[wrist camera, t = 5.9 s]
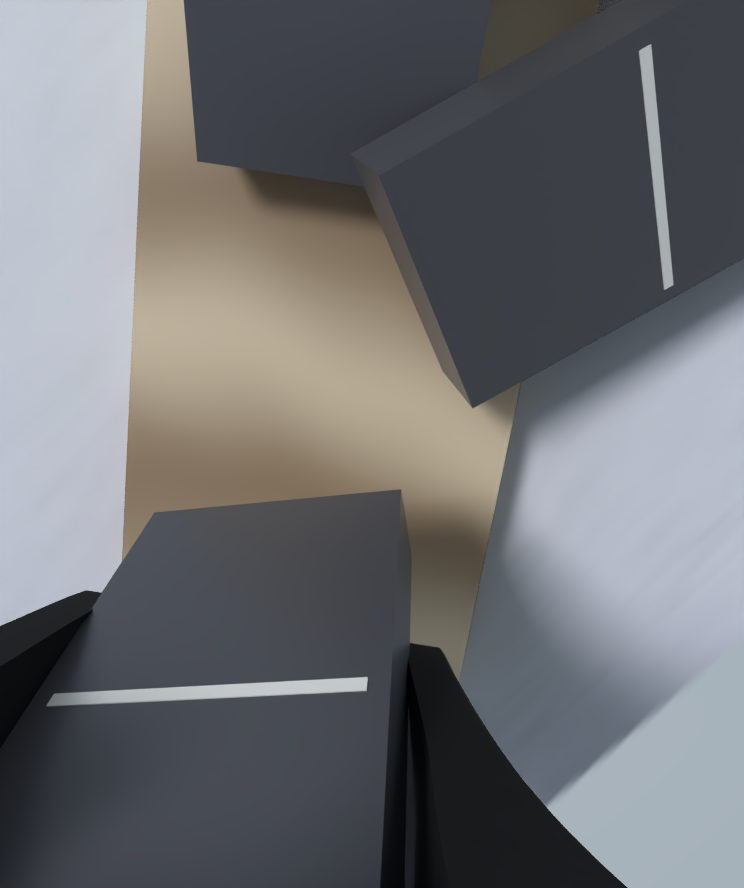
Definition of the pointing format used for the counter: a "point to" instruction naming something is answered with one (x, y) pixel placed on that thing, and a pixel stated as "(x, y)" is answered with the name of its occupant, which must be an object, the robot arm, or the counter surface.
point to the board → (302, 343)
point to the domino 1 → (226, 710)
